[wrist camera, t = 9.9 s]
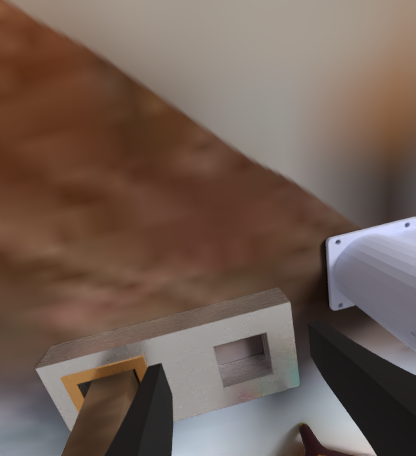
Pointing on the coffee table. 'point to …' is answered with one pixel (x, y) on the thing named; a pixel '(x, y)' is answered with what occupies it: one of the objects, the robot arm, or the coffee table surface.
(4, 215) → the coffee table surface
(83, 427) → the walnut peg
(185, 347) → the peg-in-hole board
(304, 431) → the decorative lantern
